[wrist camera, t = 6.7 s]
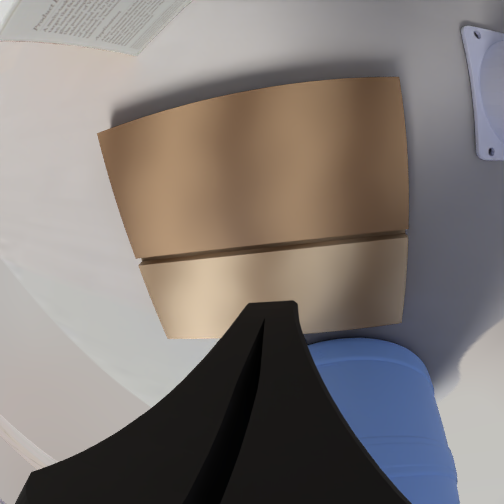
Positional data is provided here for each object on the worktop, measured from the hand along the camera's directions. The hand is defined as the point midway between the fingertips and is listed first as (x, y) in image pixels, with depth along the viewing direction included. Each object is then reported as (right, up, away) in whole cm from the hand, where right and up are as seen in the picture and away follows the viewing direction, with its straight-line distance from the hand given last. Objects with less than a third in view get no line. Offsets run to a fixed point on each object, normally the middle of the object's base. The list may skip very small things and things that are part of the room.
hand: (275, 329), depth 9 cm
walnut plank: (-1, +7, +8) cm, 10 cm away
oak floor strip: (+1, 0, +11) cm, 11 cm away
